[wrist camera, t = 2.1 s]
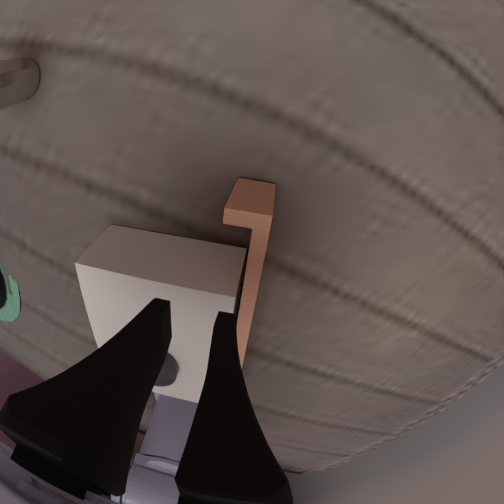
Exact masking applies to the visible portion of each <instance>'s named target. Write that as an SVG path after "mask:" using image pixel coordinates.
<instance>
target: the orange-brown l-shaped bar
mask: <svg viewBox="0 0 504 504" xmlns="http://www.w3.org/2000/svg"><path fill="white" fill-rule="evenodd" d="M275 189H276V184H273V183H267V182H261V181H255V180H250V179H243V178H238V180H237V182H236V184H235V186H234V188H233V190H232V192H231V195H230V197H229V199H228V201H227V203H226V205H225V208H224V216H223V224H228V225H234V226H240V227H246V228H251V229H252V235H251V241H250V247H249V253H248V259H247V266H246V272H245V278H244V284H243V290H242V296H241V302H240V309H239V315H238V321H237V344H238V352H239V358H240V364H241V369H242V365H243V361H244V356H245V351H246V346H247V341H248V337H249V332H250V327H251V322H252V317H253V312H254V308H255V303H256V298H257V293H258V288H259V283H260V278H261V273H262V268H263V263H264V258H265V253H266V248H267V243H268V238H269V233H270V228H271V222H272V217H273V209H274V199H275Z"/></svg>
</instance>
